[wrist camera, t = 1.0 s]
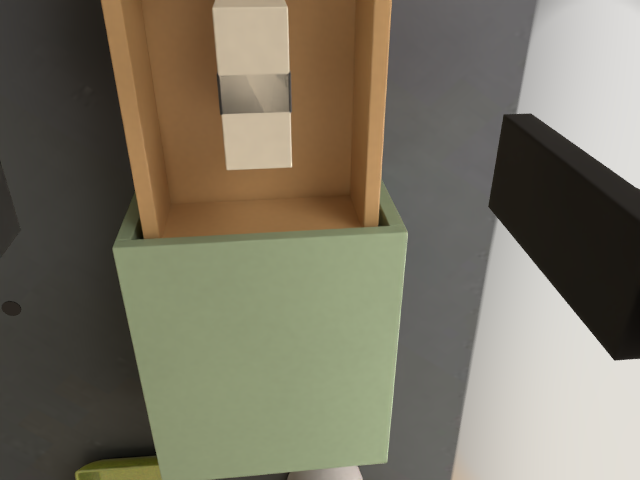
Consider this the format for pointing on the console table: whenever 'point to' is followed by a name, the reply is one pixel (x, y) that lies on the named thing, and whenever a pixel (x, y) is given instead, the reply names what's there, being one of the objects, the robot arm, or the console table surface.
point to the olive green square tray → (121, 469)
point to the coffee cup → (327, 474)
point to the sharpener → (254, 82)
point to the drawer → (206, 122)
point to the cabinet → (265, 344)
